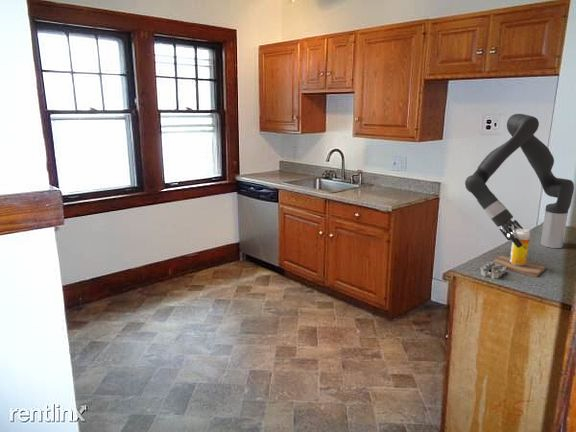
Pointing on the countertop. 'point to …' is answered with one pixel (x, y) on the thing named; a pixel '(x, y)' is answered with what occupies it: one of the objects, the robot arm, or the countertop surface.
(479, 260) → the countertop surface
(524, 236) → the beer glass
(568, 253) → the countertop surface
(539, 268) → the walnut board
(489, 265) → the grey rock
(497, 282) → the countertop surface
